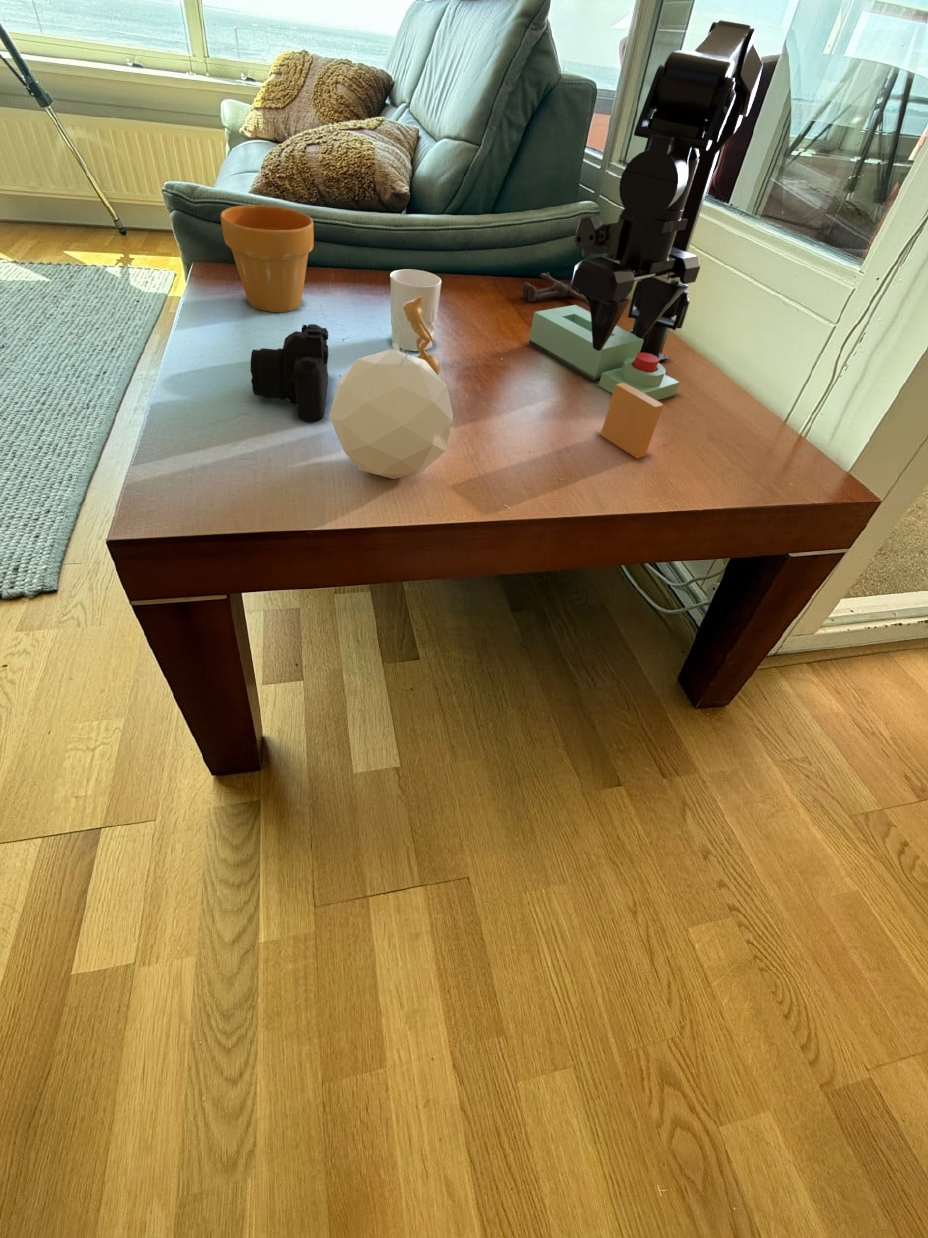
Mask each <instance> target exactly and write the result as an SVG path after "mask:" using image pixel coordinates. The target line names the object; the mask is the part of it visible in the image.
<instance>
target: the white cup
mask: <svg viewBox="0 0 928 1238" xmlns="http://www.w3.org/2000/svg"><path fill="white" fill-rule="evenodd" d="M389 278H390V323H391V324H390V325H391V343H393V344H394V343H396V345H397V343H398V344H399V347H400V349H402V345H403V349H404V350H405V349H406V351H411V352H420V351H419V350H418V348H417V343H416V341H417V339H418V338H420V336H419V335H418V334H417V333H416V332H414V330H413V328H412V326H411V323H410V321H409V320H407V316H406V314H405V312H404V309H403V306H404V305H405V304H406V303H407V302H410V301H413V300H415V299H416V298H418V297H419V296H421V297H422V298H423V302H424V304H423V305H422V307H421V310H422V319H423V322H424V323H425V325H426V328H427V329H428V330H429V332H430V334H431V336H432V337H433V338H434V339H435V337H434V336H435V330H436V325H437V318H438V312H439V305H440V298H441V297H440V295H441V289H442V281H443V280H442V278H441V277H440V276H438V275H436V274H434V273H432V272H429V271H425V270H420V269H411V268H409V269H408V268H407V269H404V268H403V269H398V270H394V271H392V272H391V273H390V275H389ZM408 321H409V322H408ZM421 327H422V325H421ZM422 328H423V327H422ZM423 330H424V329H423ZM424 331H425V330H424ZM423 343H425V341H424V340H422V342H421V343H420V344H419V345H420V347H421V345H422V344H423ZM432 346H434V344H432V342H431V340H430V342H429V344H428V345H427V346H426V348H424V351H427V350H430V349H431V348H432Z"/></svg>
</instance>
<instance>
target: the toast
mask: <svg viewBox="0 0 928 1238" xmlns="http://www.w3.org/2000/svg"><path fill="white" fill-rule="evenodd" d="M611 394H612V393H611ZM663 408H664V404H663V403H662V402H660V401H659V400H655V399H653V398H651V397H649V396H648V395H646V394H644V393H642V392H641V391H639V390H637V389H635V388H633V387H632V386H630V385H628V384H626V383H625V382H623V383H619V384H616V385H615V388H614V391H613V394H612V395H611V397H610V401H609V405H608V408H607V411H606V414H605V418H604V421H603V425H602V429H601V432H600V436H601V437H602V438H604V439H605V440H607V441H609V442H611V443H612V444H613V445H615V446H617V447H618V448H620V449H621V450H623V451H624V452H626V453H628V454H629V455H631V456H632V457H634V458H635V459H640V458H642V457H645V456H647V455H646V454H647V451H648V449H649V446H650V444H651V441H652V438H653V436H654V432H655V430H656V427H657V425H658V422H659V418H660V416H661V413H662V410H663Z"/></svg>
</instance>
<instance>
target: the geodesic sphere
mask: <svg viewBox="0 0 928 1238" xmlns="http://www.w3.org/2000/svg"><path fill="white" fill-rule="evenodd" d="M391 345H392V348H390V349H386V350H383V351H379V352H377V353H373V354H369V355H365V356H362V357H359V358H357V359H356V360H355V361H354V362H353V364H352V365H350V367H348V369H347V371H345V373H344V374H343V375H342V376H341V378H340V379H339V380H338V382H337V385H336V388H335V393H334V397H333V401H332V403H331V404H332V405H331V408H330V412H329V415H328V418H329V420H330V422H331V424H332V426H333V429H334V431H335V434H336V435H337V439H338V441H339V443H340V445H341V448H342V450H343V452H344V454H345V455H346V456H347V457H348V458H349V459H350V460H351V461H352V463H354V465H355V466H357V467H358V468H359V470H360V471H361V472H365V473H369V474H371V475H377V476H381V477H384V478H389V479H392V480H396V479H400V478H404V477H408V476H413V475H417V474H419V473H421V472H422V471H425V470H426V469H427V468H428V467H429V466H430V465H431V464H433V463H434V462H435V461H436V460H437V459H438V458H440V457H441V456H442V455H443V454H444V453H445V452H446V451H447V447H448V441H449V438H450V433H451V428H452V425H453V424H452V423H453V419H454V414H453V410H452V409H453V408H452V404H451V399H450V394H449V390H448V386H447V385H446V383H445V382H444V381H443V380H442V379H441V377H440V376H439V374H438V375H437V374H436V373H435V371H434V370H433V369H432V368H431V367H430V365H429V364H428V363H427V362H426V361H425V360H423V359H420V358H417V356H414V355H410V354H408V353H409V351H410V350H406V349H403V345H402V348H400V347H399V344H398V343H397V345H396V343H394V344H393V342H391Z"/></svg>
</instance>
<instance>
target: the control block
mask: <svg viewBox="0 0 928 1238" xmlns="http://www.w3.org/2000/svg"><path fill="white" fill-rule="evenodd" d="M634 361H635V357H632V358H627V359H626V360H625V361H624V364H623V367H622V368H618V369H614V370H610V371H606V372H602V375H601V379H600V381H599V383H598V387H600V388H601V389H604V390H606V391H607V392H608V393H611V394H613V391H614V388H615V385H616V384H619V383H623V382H625V383H626V384H628V385H630V386H632V387H633V388H635V389H637V390H639V391H641V392H642V393H644V394H646V395H648V396H649V397H651V398H653V399H655V400H657V401H660V400H664V399H667V398H671V397H673V396H676V394H677V391H678V389H679V385H680V384H681V382H680V381H679V380H676V379H675V378H673V377H671V376H669V375H667V374H666V371H667V370H666V368H665V367H664V366H663V365H662V364H661V363H660V362H658V365H657V368H656V371H655V372H645V371H641V370H638V369H636V368H635V367H633V364H634Z"/></svg>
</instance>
